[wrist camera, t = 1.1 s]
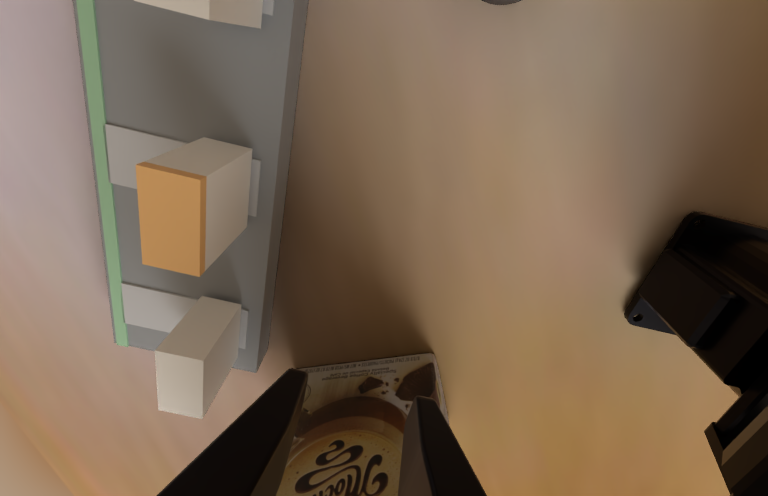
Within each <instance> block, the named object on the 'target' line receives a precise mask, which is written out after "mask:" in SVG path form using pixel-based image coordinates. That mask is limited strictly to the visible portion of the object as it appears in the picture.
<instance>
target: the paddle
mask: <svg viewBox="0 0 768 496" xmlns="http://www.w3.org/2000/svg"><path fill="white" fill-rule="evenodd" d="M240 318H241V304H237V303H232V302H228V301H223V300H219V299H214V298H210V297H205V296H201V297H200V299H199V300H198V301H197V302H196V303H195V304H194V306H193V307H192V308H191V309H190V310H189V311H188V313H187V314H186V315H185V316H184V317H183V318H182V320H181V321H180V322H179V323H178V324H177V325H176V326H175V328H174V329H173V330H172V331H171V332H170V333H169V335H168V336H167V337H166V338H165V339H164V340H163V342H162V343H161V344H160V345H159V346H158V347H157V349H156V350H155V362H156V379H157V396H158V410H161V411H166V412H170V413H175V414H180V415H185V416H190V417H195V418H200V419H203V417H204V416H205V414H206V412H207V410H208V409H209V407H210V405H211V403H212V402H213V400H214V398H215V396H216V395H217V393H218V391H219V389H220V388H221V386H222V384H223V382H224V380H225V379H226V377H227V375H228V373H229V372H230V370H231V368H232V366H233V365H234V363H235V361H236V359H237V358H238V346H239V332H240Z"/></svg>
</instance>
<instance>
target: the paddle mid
mask: <svg viewBox="0 0 768 496" xmlns="http://www.w3.org/2000/svg"><path fill="white" fill-rule="evenodd" d="M251 162H252V149H251V148H247V147H243V146H239V145H234V144H230V143H226V142H222V141H218V140H214V139H210V138H205V137H203V138H201V139H198V140H196V141H193V142H191V143H188V144H186V145H183V146H181V147H178V148H176V149H173V150H171V151H168V152H166V153H163V154H161V155H158V156H156V157H154V158H151V159H149V160H146V161H144V162H141V163H139V164H136V179H137V194H138V208H139V222H140V237H141V251H142V264H144V265H148V266H153V267H157V268H162V269H166V270H171V271H175V272H180V273H184V274H189V275H193V276H198V277H200V276H201V275H202V274H203V273H204V272H205V271H206V270H207V269H208V268H209V266H210V265H211V264H212V263H213V262H214V261H215V260H216V259H217V258H218V257H219V256H220V255H221V254H222V253H223V252H224V251H225V250H226V248H227V247H228V246H229V245H230V244H231V243H232V242H233V241H234V240H235V239H236V238H237V237H238V236H239V235H240V234H241V233H242V232H243V230H244V229H245V228H246V227H247V219H248V205H249V191H250V176H251Z"/></svg>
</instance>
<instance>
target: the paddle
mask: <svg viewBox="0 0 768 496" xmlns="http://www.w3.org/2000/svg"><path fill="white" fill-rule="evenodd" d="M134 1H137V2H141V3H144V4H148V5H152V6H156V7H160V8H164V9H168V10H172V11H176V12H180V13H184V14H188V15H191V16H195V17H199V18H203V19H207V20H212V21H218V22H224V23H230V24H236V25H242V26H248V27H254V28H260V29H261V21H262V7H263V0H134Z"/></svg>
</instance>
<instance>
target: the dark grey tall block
mask: <svg viewBox="0 0 768 496" xmlns="http://www.w3.org/2000/svg"><path fill="white" fill-rule="evenodd" d="M482 1H484V2H487V3H490V4H495V5H507V4H512V3H516V2H519V1H521V0H482Z"/></svg>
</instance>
